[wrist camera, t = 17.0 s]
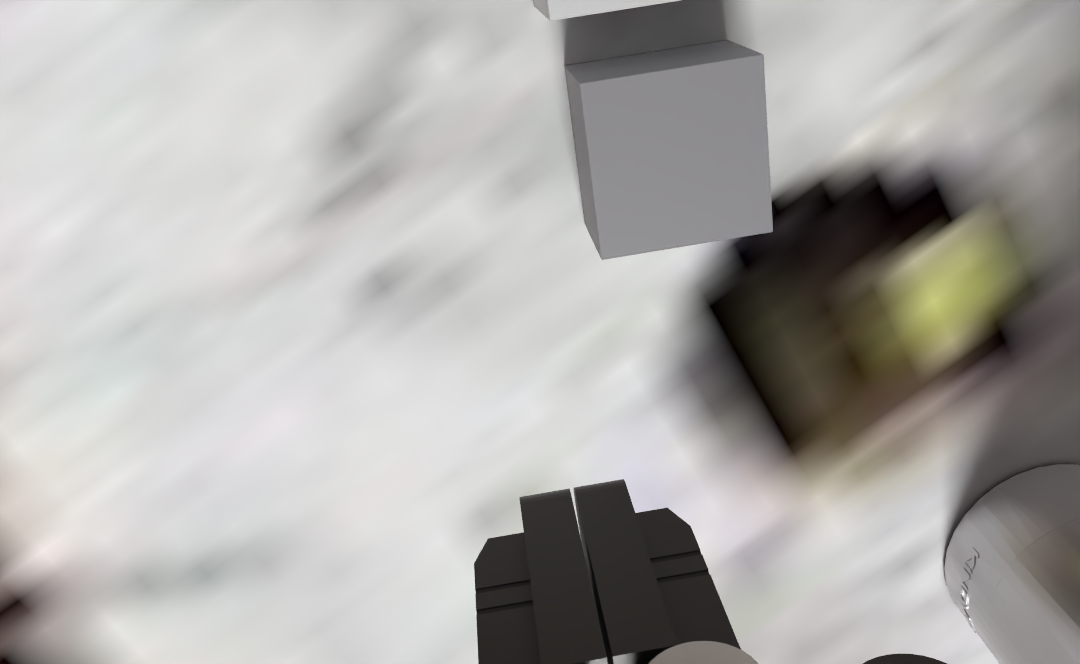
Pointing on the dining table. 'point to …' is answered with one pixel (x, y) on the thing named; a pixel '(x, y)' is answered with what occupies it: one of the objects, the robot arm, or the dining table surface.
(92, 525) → the dining table surface
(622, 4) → the white microwave oven
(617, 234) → the gray square block
